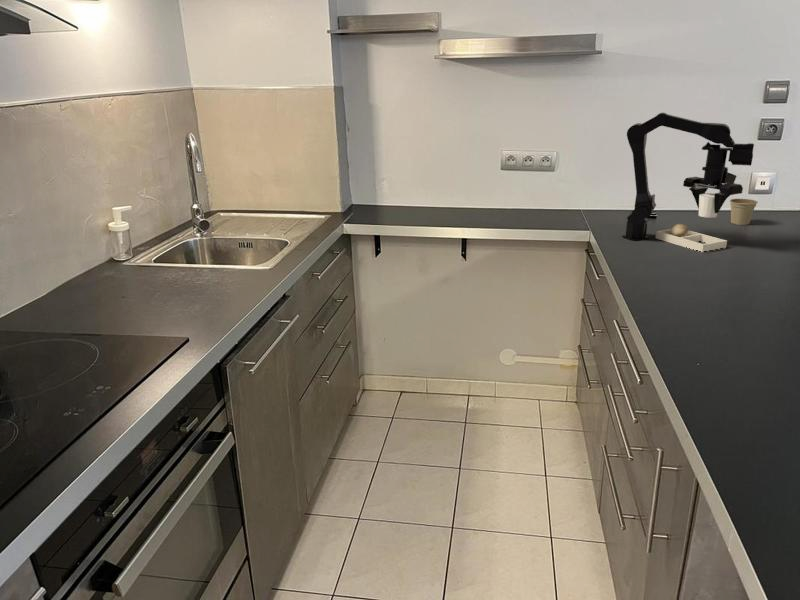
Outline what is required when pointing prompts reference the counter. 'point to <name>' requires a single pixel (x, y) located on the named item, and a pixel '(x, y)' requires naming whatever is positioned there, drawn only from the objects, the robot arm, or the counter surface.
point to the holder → (692, 240)
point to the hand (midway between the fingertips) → (708, 211)
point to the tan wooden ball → (679, 230)
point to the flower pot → (742, 210)
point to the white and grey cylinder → (707, 205)
